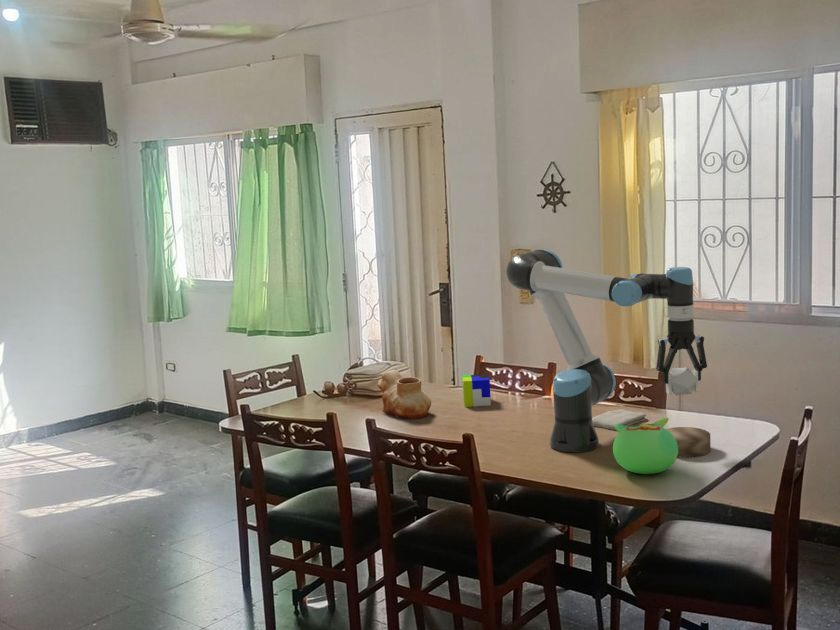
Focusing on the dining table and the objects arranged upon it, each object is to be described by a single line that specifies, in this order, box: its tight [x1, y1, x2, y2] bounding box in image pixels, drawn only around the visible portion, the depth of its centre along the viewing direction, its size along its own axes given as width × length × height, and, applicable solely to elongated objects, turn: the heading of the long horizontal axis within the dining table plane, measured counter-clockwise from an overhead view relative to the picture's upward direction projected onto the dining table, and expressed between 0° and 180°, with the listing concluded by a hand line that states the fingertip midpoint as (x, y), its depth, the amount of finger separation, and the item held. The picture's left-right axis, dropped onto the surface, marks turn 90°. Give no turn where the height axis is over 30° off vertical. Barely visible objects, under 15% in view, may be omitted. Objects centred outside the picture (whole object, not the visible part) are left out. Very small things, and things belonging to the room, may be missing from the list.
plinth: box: [665, 426, 712, 459], centre depth 277 cm, size 15×15×5 cm
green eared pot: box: [612, 417, 678, 475], centre depth 259 cm, size 18×17×15 cm
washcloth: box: [592, 408, 647, 431], centre depth 311 cm, size 12×18×3 cm, turn 133°
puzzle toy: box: [461, 373, 492, 408], centre depth 349 cm, size 10×10×10 cm
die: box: [669, 366, 697, 396], centre depth 277 cm, size 8×9×10 cm
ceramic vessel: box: [377, 369, 432, 420], centre depth 342 cm, size 14×26×15 cm, turn 34°
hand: (682, 392), depth 278 cm, fingers closed on die, 8 cm apart
